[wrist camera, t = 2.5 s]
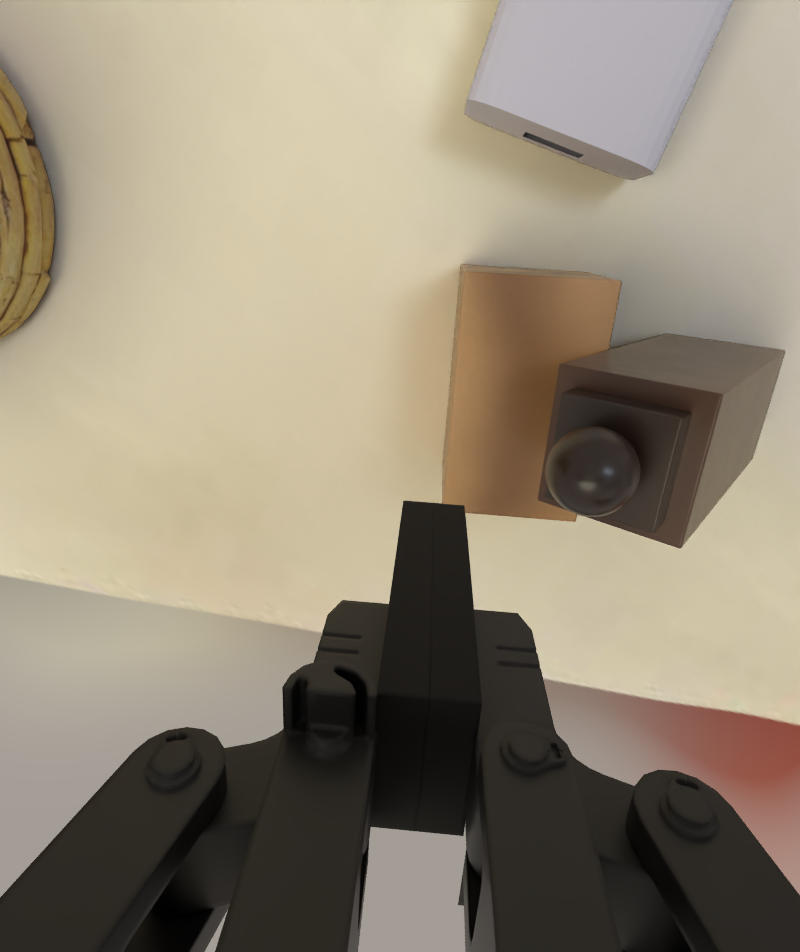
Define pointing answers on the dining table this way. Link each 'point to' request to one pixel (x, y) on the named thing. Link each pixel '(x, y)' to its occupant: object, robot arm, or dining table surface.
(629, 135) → the charger
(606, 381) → the pepper mill
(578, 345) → the wooden block
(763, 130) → the dining table surface
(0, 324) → the tankard
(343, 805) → the robot arm
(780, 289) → the dining table surface
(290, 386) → the dining table surface
